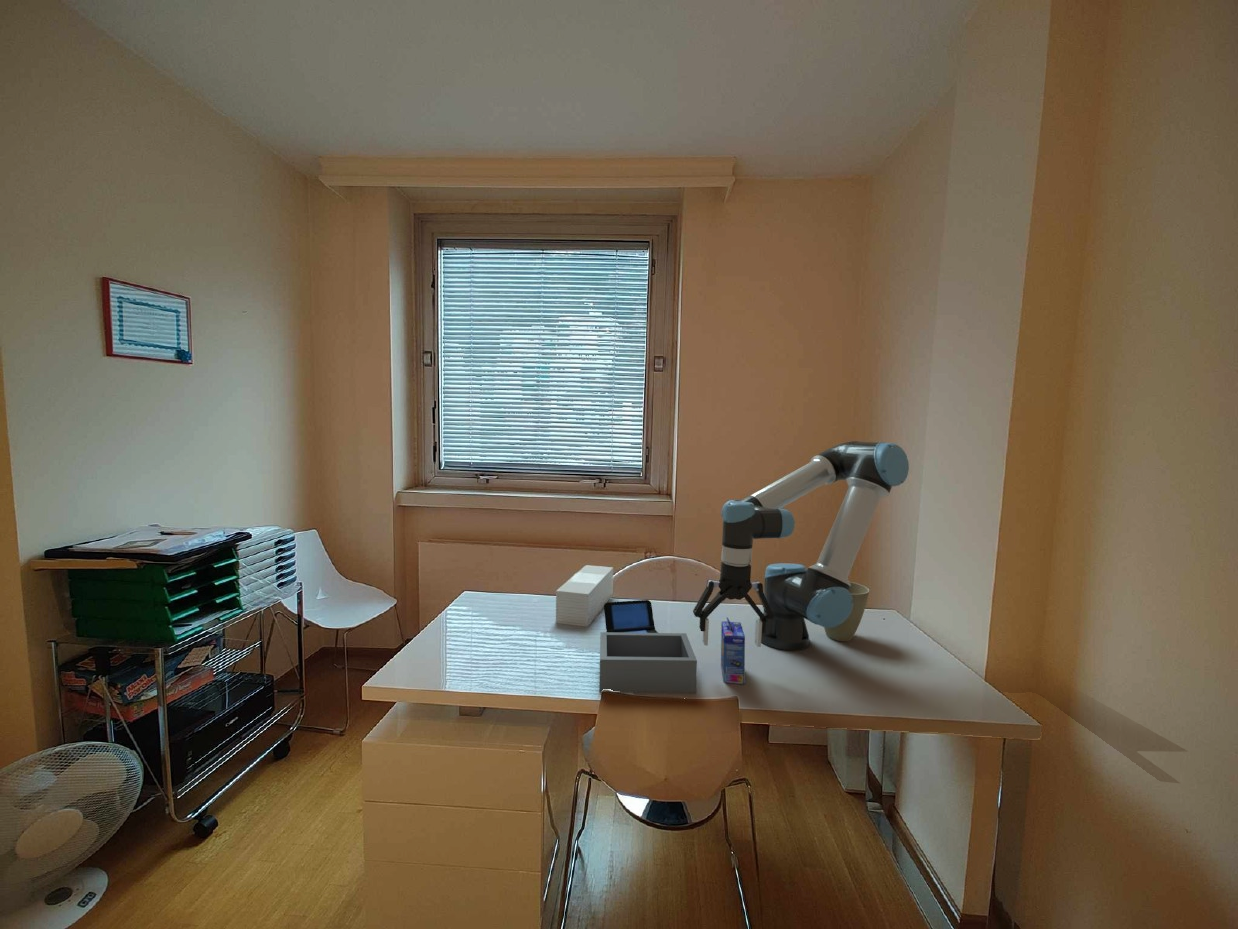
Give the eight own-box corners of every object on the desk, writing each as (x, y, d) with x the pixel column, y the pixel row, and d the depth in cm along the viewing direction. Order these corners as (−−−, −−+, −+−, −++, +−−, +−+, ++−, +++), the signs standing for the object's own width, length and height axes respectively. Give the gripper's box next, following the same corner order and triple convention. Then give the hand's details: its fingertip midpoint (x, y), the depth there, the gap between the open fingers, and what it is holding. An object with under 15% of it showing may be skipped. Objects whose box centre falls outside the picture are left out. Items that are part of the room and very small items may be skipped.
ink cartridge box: (719, 664, 136) (721, 612, 135) (740, 666, 136) (742, 613, 135) (722, 683, 127) (724, 626, 126) (744, 685, 126) (747, 628, 125)
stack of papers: (587, 627, 160) (588, 594, 159) (555, 623, 163) (556, 590, 162) (612, 595, 191) (613, 567, 190) (585, 592, 194) (585, 564, 193)
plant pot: (860, 651, 147) (863, 597, 146) (807, 637, 156) (810, 586, 155) (870, 635, 159) (874, 585, 158) (821, 623, 168) (824, 576, 167)
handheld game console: (614, 650, 144) (615, 618, 144) (602, 631, 157) (602, 602, 157) (665, 644, 149) (666, 613, 148) (649, 627, 162) (650, 598, 161)
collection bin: (685, 662, 137) (686, 633, 137) (695, 693, 121) (696, 660, 121) (599, 661, 137) (600, 632, 136) (599, 692, 121) (600, 659, 120)
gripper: (779, 560, 133) (774, 639, 135) (684, 557, 132) (680, 636, 134) (790, 568, 126) (784, 651, 127) (689, 564, 125) (685, 648, 126)
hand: (731, 644), depth 130 cm, fingers open, 13 cm apart
